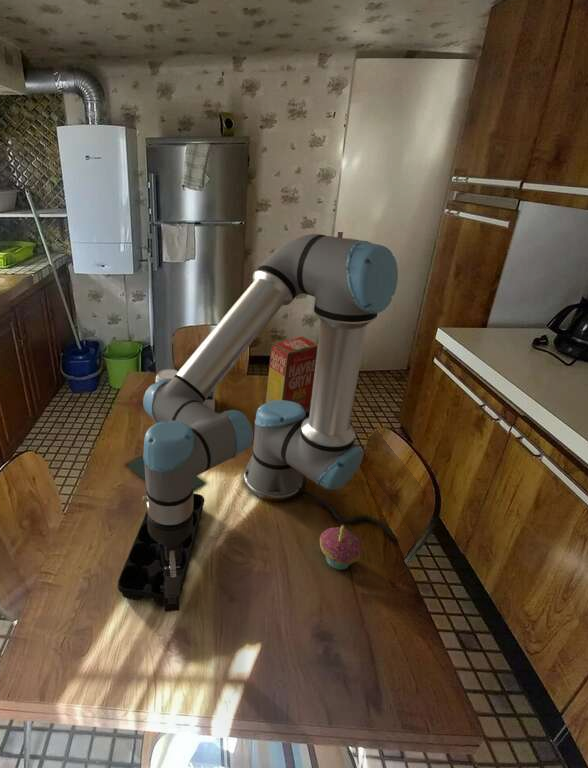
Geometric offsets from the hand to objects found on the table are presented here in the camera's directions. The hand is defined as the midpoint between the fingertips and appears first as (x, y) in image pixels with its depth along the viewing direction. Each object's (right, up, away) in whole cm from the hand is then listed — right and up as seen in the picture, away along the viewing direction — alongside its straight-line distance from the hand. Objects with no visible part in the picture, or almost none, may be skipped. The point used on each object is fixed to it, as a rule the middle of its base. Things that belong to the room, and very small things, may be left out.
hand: (171, 607), depth 81 cm
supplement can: (-5, +29, +66) cm, 72 cm away
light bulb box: (+7, +31, +70) cm, 77 cm away
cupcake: (+35, +3, +13) cm, 37 cm away
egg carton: (-2, +5, +15) cm, 16 cm away
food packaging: (+36, +30, +68) cm, 82 cm away
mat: (-4, +16, +37) cm, 41 cm away
